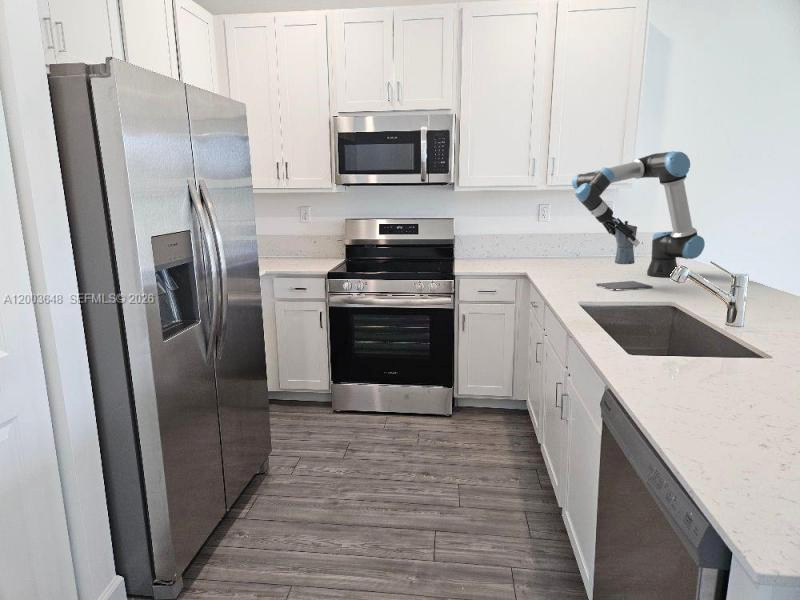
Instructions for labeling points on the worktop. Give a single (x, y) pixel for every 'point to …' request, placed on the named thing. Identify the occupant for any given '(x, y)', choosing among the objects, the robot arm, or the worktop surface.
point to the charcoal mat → (624, 285)
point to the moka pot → (624, 246)
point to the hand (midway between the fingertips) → (630, 243)
